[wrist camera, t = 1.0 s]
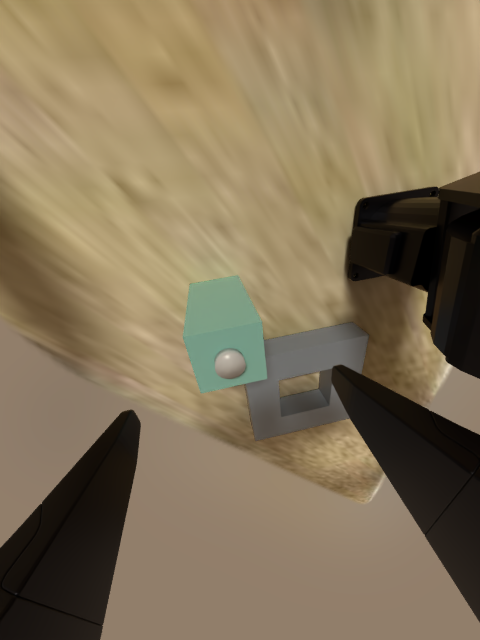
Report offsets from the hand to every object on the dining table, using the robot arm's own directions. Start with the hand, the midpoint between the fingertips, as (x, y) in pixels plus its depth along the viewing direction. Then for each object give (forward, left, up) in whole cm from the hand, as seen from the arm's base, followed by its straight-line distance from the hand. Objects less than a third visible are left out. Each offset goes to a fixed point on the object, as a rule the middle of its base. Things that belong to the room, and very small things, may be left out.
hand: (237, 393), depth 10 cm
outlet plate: (-7, +11, -10) cm, 17 cm away
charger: (0, 0, -10) cm, 10 cm away
